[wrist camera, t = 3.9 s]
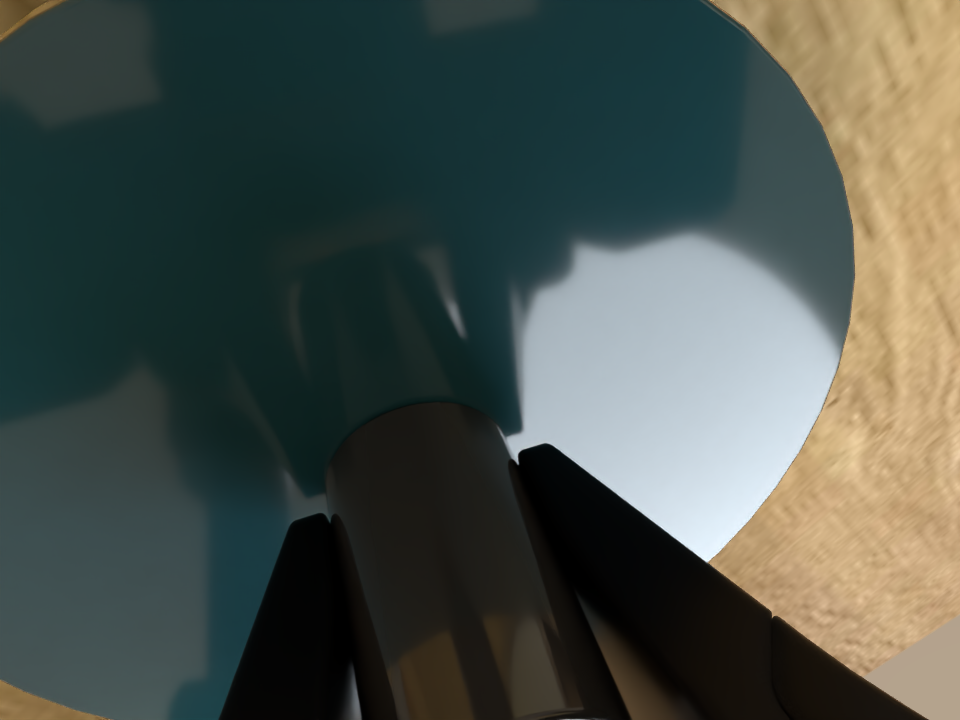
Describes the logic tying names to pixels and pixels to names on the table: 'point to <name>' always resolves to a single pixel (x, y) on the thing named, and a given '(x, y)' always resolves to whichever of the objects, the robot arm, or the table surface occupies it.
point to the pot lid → (388, 327)
